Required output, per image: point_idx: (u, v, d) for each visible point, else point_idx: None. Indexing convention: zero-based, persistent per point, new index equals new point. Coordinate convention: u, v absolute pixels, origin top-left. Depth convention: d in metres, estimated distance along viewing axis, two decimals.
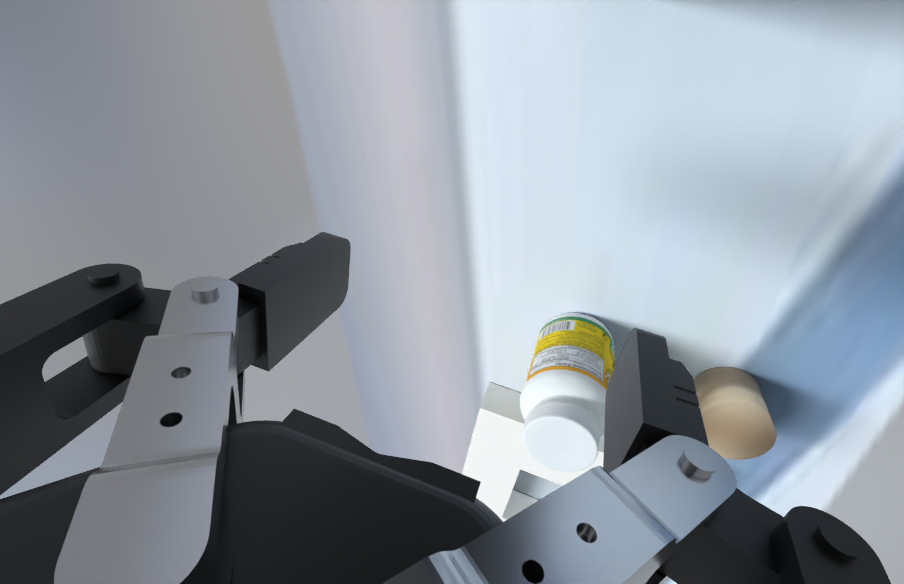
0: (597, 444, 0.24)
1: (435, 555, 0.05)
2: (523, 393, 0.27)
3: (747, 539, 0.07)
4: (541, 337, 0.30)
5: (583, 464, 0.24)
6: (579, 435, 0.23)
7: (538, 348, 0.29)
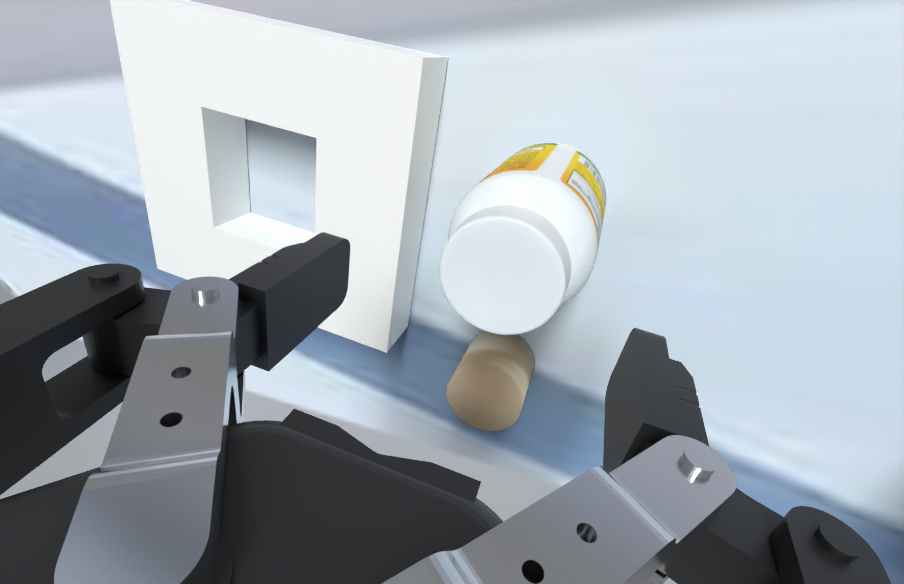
0: None
1: (435, 555, 0.05)
2: (547, 184, 0.15)
3: (747, 539, 0.07)
4: (583, 164, 0.19)
5: (469, 313, 0.15)
6: (531, 311, 0.14)
7: (580, 170, 0.18)
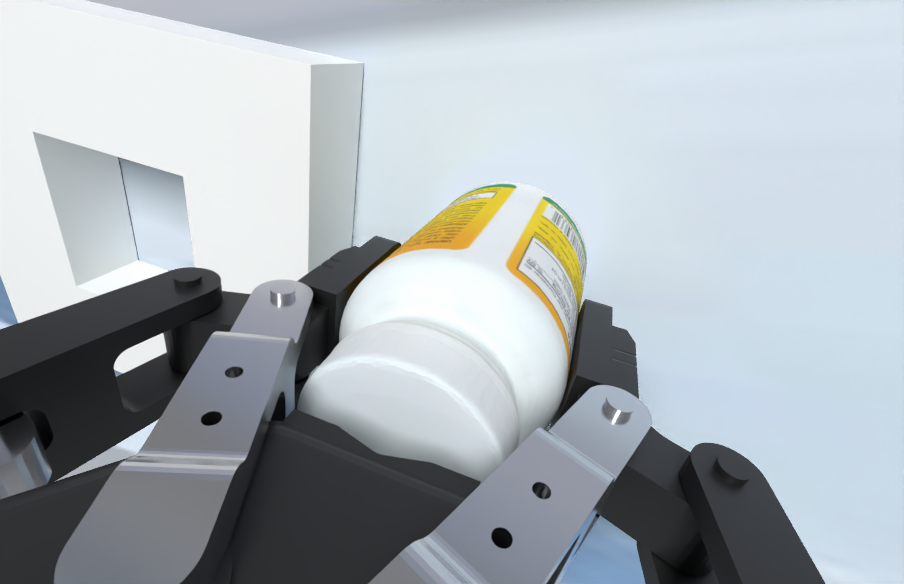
0: None
1: (435, 555, 0.05)
2: (481, 276, 0.09)
3: (658, 471, 0.08)
4: (551, 219, 0.13)
5: None
6: None
7: (544, 233, 0.12)
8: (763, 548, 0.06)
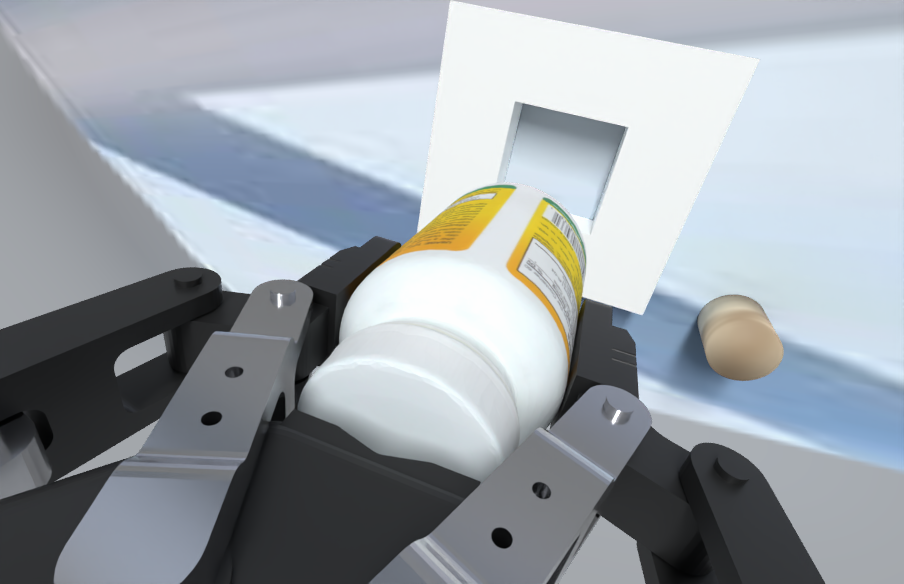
0: None
1: (435, 555, 0.05)
2: (481, 278, 0.09)
3: (658, 471, 0.08)
4: (551, 220, 0.13)
5: None
6: None
7: (544, 234, 0.12)
8: (763, 548, 0.06)
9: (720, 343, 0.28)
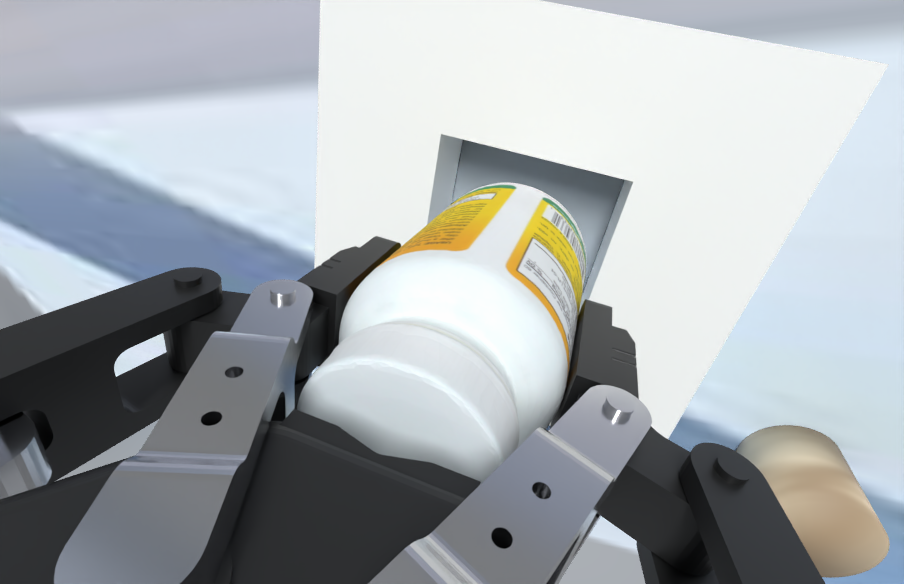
0: None
1: (435, 555, 0.05)
2: (481, 278, 0.09)
3: (658, 471, 0.08)
4: (551, 220, 0.13)
5: None
6: None
7: (544, 234, 0.12)
8: (763, 548, 0.06)
9: None
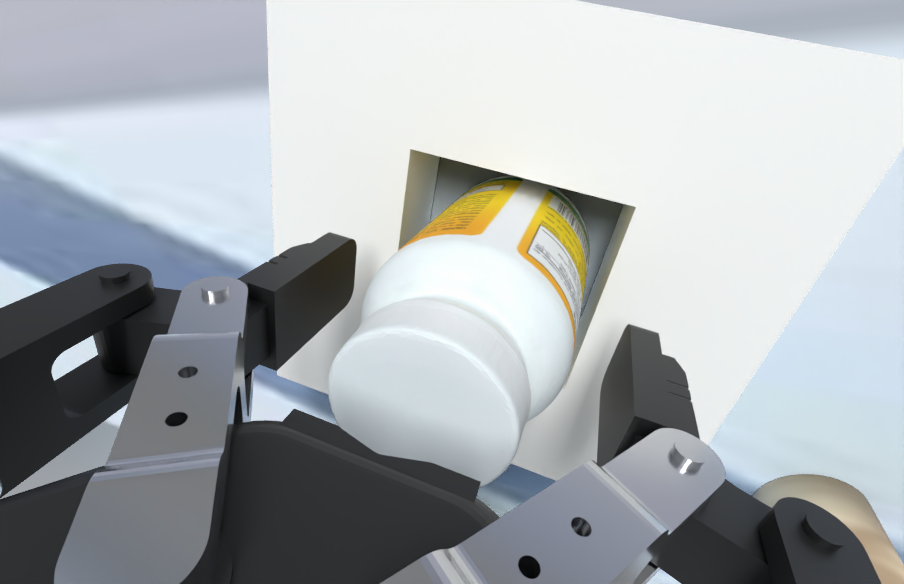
0: None
1: (435, 555, 0.05)
2: (494, 259, 0.10)
3: (735, 529, 0.07)
4: (557, 209, 0.14)
5: None
6: (468, 466, 0.09)
7: (551, 222, 0.13)
8: None
9: None
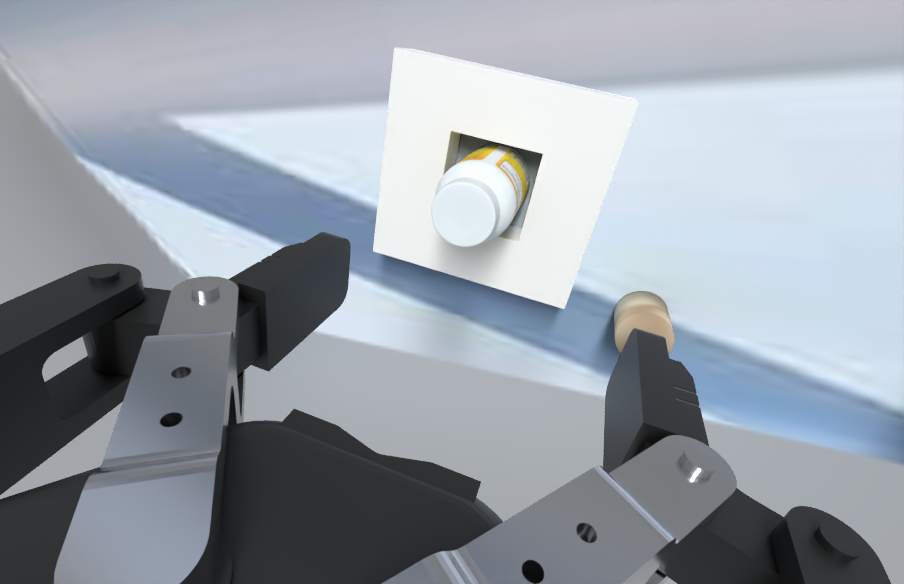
0: (472, 245, 0.28)
1: (435, 555, 0.05)
2: (487, 166, 0.28)
3: (747, 539, 0.07)
4: (513, 157, 0.32)
5: (447, 236, 0.28)
6: (479, 232, 0.27)
7: (509, 160, 0.31)
8: None
9: (625, 331, 0.33)
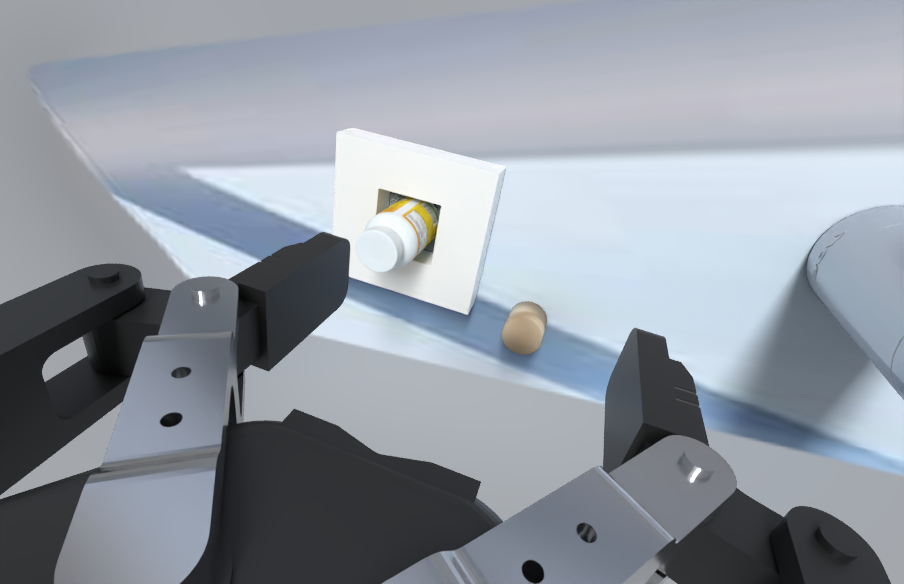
0: (384, 271, 0.41)
1: (435, 555, 0.05)
2: (395, 217, 0.41)
3: (747, 539, 0.07)
4: (423, 206, 0.45)
5: (367, 265, 0.41)
6: (388, 263, 0.40)
7: (418, 209, 0.43)
8: None
9: (508, 331, 0.46)
